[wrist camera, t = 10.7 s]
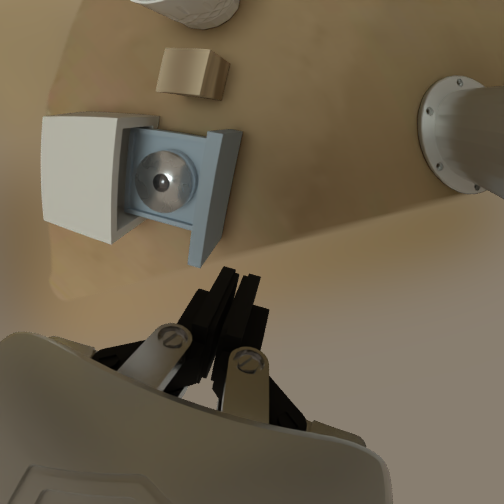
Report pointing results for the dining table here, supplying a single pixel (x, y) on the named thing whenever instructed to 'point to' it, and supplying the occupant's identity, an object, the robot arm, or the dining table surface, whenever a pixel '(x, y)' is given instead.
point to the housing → (88, 172)
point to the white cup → (194, 11)
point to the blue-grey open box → (208, 190)
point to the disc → (166, 180)
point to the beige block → (193, 73)
